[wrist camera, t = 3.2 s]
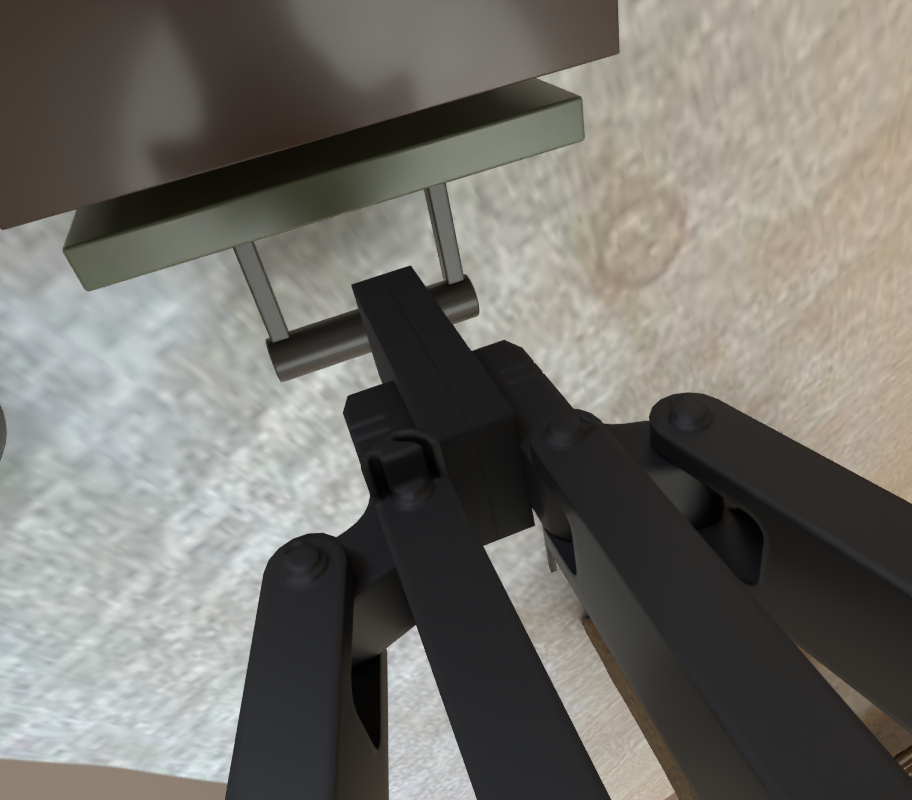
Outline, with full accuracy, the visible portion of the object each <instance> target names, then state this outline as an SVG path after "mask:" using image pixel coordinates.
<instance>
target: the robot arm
mask: <svg viewBox="0 0 912 800" xmlns="http://www.w3.org/2000/svg"><path fill="white" fill-rule="evenodd" d="M351 286H352V289H353V292H354V295H355V299H356V302H357V305H358V308H359V312H360V315H361V318H362V321H363V325H364V328H365V331H366V334H367V337H368V341H369V344H370V347H371V350H372V354H373V357H374V360H375V363H376V367H377V370H378V373H379V376H380V379H381V381H382V383H383V384H381V385H378V386H375V387H372V388H369V389H366V390H363V391H360V392H357V393H355V394H352V395H349V396H348V397H347V400H346V404H345V407H344V411H343V415H344V417H345V420H346V423H347V426H348V429H349V432H350V435H351V438H352V441H353V443H354V446H355V449H356V452H357V455H358V458H359V461H360V464H361V470H362V473H363V476H364V478H365V481H366V484H367V487H368V489H369V492H370V499H369V504H368V507H367V509H366V511H365V513H364V514H363V515H362V517H361V518H360V519H359V520H358V521H357V523H355V524H354V525H353V526H352V527H350V528H349V529H348V530H347V531H345V532H344V533H342V534H341V535H339V536H338V537H334V536H331V535H328V534H325V533H311V534H306V535H303V536H300V537H297V538H294V539H292V540H291V541H289V542H288V543H286V544H285V545H283V546H282V547H280V548H279V549H278V550H277V551H276V552H275V553H274V555H273V556H272V557H271V558H270V559H269V561H268V563H267V566H266V568H265V571H264V574H263V580H262V585H261V591H260V597H259V603H258V609H257V615H256V621H255V626H254V632H253V638H252V644H251V650H250V656H249V662H248V668H247V673H246V679H245V685H244V691H243V697H242V703H241V709H240V714H239V720H238V726H237V732H236V738H235V744H234V750H233V756H232V761H231V767H230V773H229V779H228V785H227V791H226V797H225V800H389V780H388V679H387V650H386V648H387V647H388V646H390V645H391V644H392V643H393V642H395V641H396V640H397V639H398V638H400V637H401V636H402V635H404V634H405V633H406V632H407V631H409V630H410V629H411V628H412V627H414V626H415V625H416V626H417V629H418V632H419V635H420V638H421V640H422V643H423V646H424V649H425V652H426V655H427V658H428V660H429V663H430V666H431V669H432V672H433V675H434V678H435V680H436V683H437V686H438V689H439V692H440V695H441V698H442V701H443V703H444V706H445V709H446V712H447V715H448V718H449V721H450V723H451V726H452V729H453V732H454V735H455V738H456V741H457V744H458V746H459V749H460V752H461V755H462V758H463V761H464V764H465V766H466V769H467V772H468V775H469V778H470V781H471V784H472V786H473V789H474V792H475V795H476V798H477V800H611V798H610V796H609V794H608V793H607V791H606V789H605V787H604V785H603V783H602V781H601V779H600V777H599V775H598V773H597V771H596V769H595V767H594V765H593V763H592V761H591V759H590V757H589V755H588V753H587V751H586V749H585V747H584V745H583V743H582V741H581V739H580V737H579V735H578V733H577V731H576V729H575V727H574V725H573V723H572V721H571V719H570V717H569V715H568V713H567V711H566V709H565V707H564V705H563V703H562V701H561V699H560V697H559V695H558V693H557V691H556V690H555V688H554V686H553V684H552V682H551V680H550V678H549V676H548V674H547V672H546V670H545V668H544V666H543V664H542V662H541V660H540V658H539V656H538V654H537V652H536V650H535V648H534V646H533V644H532V642H531V640H530V638H529V636H528V634H527V632H526V630H525V628H524V626H523V624H522V622H521V620H520V618H519V616H518V614H517V612H516V610H515V608H514V606H513V604H512V602H511V600H510V598H509V596H508V594H507V592H506V590H505V588H504V587H503V585H502V583H501V581H500V579H499V577H498V575H497V573H496V571H495V569H494V567H493V565H492V563H491V561H490V559H489V557H488V555H487V553H486V551H485V549H484V547H483V546H484V545H487V544H489V543H492V542H494V541H497V540H499V539H502V538H505V537H507V536H510V535H512V534H515V533H517V532H520V531H522V530H525V529H527V528H530V527H533V526H535V523H534V517H533V512H532V508H533V510H534V511H535V513H536V514H537V516H538V518H539V519H540V521H541V522H542V526H543V533H544V539H545V545H546V552H547V558H548V563H549V567H550V570H551V573H552V572H554V571H557V569H556V562H557V563H558V565H559V567H560V568H561V570H562V572H563V573H564V575H565V577H566V578H567V580H568V582H569V583H570V585H571V587H572V588H573V590H574V592H575V593H576V595H577V597H578V598H579V600H580V602H581V603H582V605H583V607H584V608H585V610H586V612H587V613H588V615H589V617H590V618H591V620H592V622H593V623H594V625H595V627H596V628H597V630H598V632H599V633H600V635H601V636H602V638H603V640H604V641H605V643H606V645H607V646H608V648H609V650H610V651H611V653H612V655H613V656H614V658H615V660H616V661H617V663H618V665H619V666H620V668H621V670H622V671H623V673H624V675H625V676H626V678H627V680H628V681H629V683H630V685H631V686H632V688H633V690H634V691H635V693H636V695H637V696H638V698H639V700H640V701H641V703H642V705H643V706H644V708H645V710H646V711H647V713H648V715H649V716H650V718H651V720H652V721H653V723H654V725H655V726H656V728H657V730H658V731H659V733H660V735H661V736H662V738H663V740H664V741H665V743H666V745H667V746H668V748H669V750H670V751H671V753H672V755H673V756H674V758H675V760H676V761H677V763H678V765H679V766H680V768H681V770H682V771H683V773H684V775H685V776H686V778H687V780H688V781H689V783H690V785H691V786H692V788H693V790H694V791H695V793H696V795H697V796H698V798H699V799H700V800H912V778H911V777H910V776H909V775H908V773H907V772H906V771H905V770H904V769H903V768H902V767H901V765H900V764H899V763H898V762H897V761H896V760H895V758H894V757H893V756H892V755H891V754H890V753H889V752H888V750H887V749H886V748H885V747H884V746H883V745H882V744H881V742H880V741H879V740H878V739H877V738H876V737H875V735H874V734H873V733H872V732H871V731H870V730H869V729H868V727H867V726H866V725H865V724H864V723H863V722H862V721H861V719H860V718H859V717H858V716H857V715H856V714H855V712H854V711H853V710H852V709H851V708H850V707H849V706H848V704H847V703H846V702H845V701H844V700H843V699H842V698H841V696H840V695H839V694H838V693H837V692H836V691H835V689H834V688H833V687H832V686H831V685H830V684H829V683H828V681H827V680H826V679H825V678H824V677H823V676H822V674H821V673H820V672H819V671H818V670H817V669H816V668H815V666H814V665H813V664H812V663H811V662H810V661H809V660H808V658H807V657H806V656H805V655H804V654H803V653H802V651H801V650H800V649H799V648H798V647H797V646H796V645H795V644H797V645H798V646H799V647H801V648H802V649H803V650H804V651H806V652H807V653H808V654H810V655H811V656H812V657H813V658H815V659H816V660H817V661H818V662H820V663H821V664H822V665H824V666H825V667H826V668H827V669H829V670H830V671H831V672H833V673H834V674H835V675H836V676H838V677H839V678H840V679H842V680H843V681H844V682H845V683H847V684H848V685H849V686H850V687H852V688H853V689H854V690H856V691H857V692H858V693H859V694H861V695H862V696H863V697H865V698H866V699H867V700H868V701H870V702H871V703H872V704H873V705H875V706H876V707H877V708H879V709H880V710H881V711H882V712H884V713H885V714H886V715H888V716H889V717H890V718H891V719H893V720H894V721H895V722H897V723H898V724H899V725H900V726H902V727H903V728H904V729H905V730H907V731H908V732H909V733H911V734H912V504H911V503H909V502H907V501H905V500H903V499H902V498H900V497H898V496H896V495H894V494H892V493H891V492H889V491H887V490H885V489H883V488H881V487H879V486H878V485H876V484H874V483H872V482H870V481H868V480H866V479H865V478H863V477H861V476H859V475H857V474H855V473H853V472H852V471H850V470H848V469H846V468H844V467H842V466H840V465H839V464H837V463H835V462H833V461H831V460H829V459H827V458H826V457H824V456H822V455H820V454H818V453H816V452H815V451H813V450H811V449H809V448H807V447H805V446H803V445H802V444H800V443H798V442H796V441H794V440H792V439H790V438H789V437H787V436H785V435H783V434H781V433H779V432H777V431H776V430H774V429H772V428H770V427H768V426H766V425H764V424H763V423H761V422H759V421H757V420H755V419H753V418H752V417H750V416H748V415H746V414H744V413H742V412H740V411H739V410H737V409H735V408H733V407H731V406H729V405H727V404H726V403H724V402H722V401H720V400H718V399H716V398H713V397H710V396H708V395H705V394H699V393H689V392H687V393H680V394H673V395H670V396H668V397H666V398H663V399H661V400H660V401H659V402H657V403H656V404H655V405H654V406H653V407H652V410H651V413H650V416H649V421H642V422H634V423H626V424H603V423H602V421H601V420H600V419H598V418H597V417H596V416H594V415H593V414H592V413H589V412H586V411H583V410H579V409H573V408H572V406H571V405H570V404H569V403H568V402H567V400H566V399H565V398H564V397H563V396H562V394H561V393H560V392H559V391H558V390H557V388H556V387H555V386H554V385H553V384H552V382H551V381H550V380H549V379H548V378H547V377H546V375H545V374H543V373H542V371H541V369H540V368H539V367H538V366H537V365H536V363H535V364H534V362H533V360H532V359H531V357H530V356H529V355H528V354H527V353H526V351H525V350H524V349H523V348H521V347H519V346H517V345H515V344H512V343H510V342H508V341H506V340H502V341H500V342H497V343H494V344H491V345H488V346H485V347H482V348H479V349H476V350H474V351H471V350H470V348H469V347H468V346H467V344H466V343H465V341H464V340H463V339H462V337H461V336H460V334H459V333H458V332H457V330H456V329H455V327H454V326H453V324H452V323H451V322H450V320H449V319H448V317H447V316H446V315H445V313H444V312H443V310H442V309H441V308H440V306H439V305H438V303H437V302H436V300H435V299H434V298H433V296H432V295H431V293H430V292H429V291H428V289H427V288H426V286H425V285H424V284H423V282H422V281H421V279H420V278H419V277H418V275H417V274H416V272H415V271H414V269H413V268H412V267H411V266H408V267H404V268H401V269H398V270H395V271H392V272H389V273H386V274H383V275H380V276H376V277H373V278H370V279H367V280H364V281H361V282H358V283H355V284H352V285H351ZM555 560H556V562H555Z"/></svg>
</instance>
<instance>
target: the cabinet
mask: <svg viewBox="0 0 912 800" xmlns="http://www.w3.org/2000/svg"><path fill="white" fill-rule="evenodd" d="M617 54H619V25H618V0H0V229H2V230H5V229H9V228H12V227H16V226H19V225H23V224H26V223H30V222H33V221H37V220H40V219H44V218H47V217H51V216H54V215H58V214H61V213H65V212H68V211H72V210H75V209H79V208H82V207H86V206H89V205H93V204H96V203H100V202H103V201H107V200H110V199H114V198H117V197H121V196H124V195H128V194H131V193H135V192H138V191H142V190H145V189H149V188H152V187H156V186H159V185H163V184H166V183H170V182H173V181H176V180H180V179H183V178H187V177H190V176H194V175H197V174H201V173H204V172H208V171H211V170H215V169H218V168H222V167H225V166H229V165H232V164H236V163H239V162H243V161H246V160H250V159H253V158H257V157H260V156H264V155H267V154H271V153H274V152H278V151H281V150H285V149H288V148H292V147H295V146H299V145H302V144H306V143H309V142H313V141H316V140H320V139H323V138H327V137H330V136H334V135H337V134H341V133H344V132H348V131H351V130H355V129H358V128H362V127H365V126H369V125H372V124H376V123H379V122H383V121H386V120H390V119H393V118H397V117H400V116H403V115H407V114H410V113H414V112H417V111H421V110H424V109H428V108H431V107H435V106H438V105H442V104H445V103H449V102H452V101H456V100H459V99H463V98H466V97H470V96H473V95H477V94H480V93H484V92H487V91H491V90H494V89H498V88H501V87H505V86H508V85H512V84H515V83H519V82H522V81H526V80H529V79H533V78H536V77H540V76H543V75H547V74H550V73H554V72H557V71H561V70H564V69H568V68H571V67H575V66H578V65H582V64H585V63H589V62H592V61H596V60H599V59H603V58H606V57H610V56H613V55H617Z"/></svg>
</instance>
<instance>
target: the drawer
mask: <svg viewBox="0 0 912 800" xmlns="http://www.w3.org/2000/svg"><path fill="white" fill-rule="evenodd" d="M584 138H585V135H584V120H583V106H582V98H581V96H579V95H576V94H574V93H571V92H569V91H566V90H564V89H561V88H559V87H557V86H554V85H552V84H549V83H547V82H544V81H542V80H539V79H537V78H533V79H529V80H526V81H522V82H519V83H515V84H512V85H508V86H505V87H501V88H498V89H494V90H491V91H487V92H484V93H480V94H477V95H473V96H470V97H466V98H463V99H459V100H456V101H452V102H449V103H445V104H442V105H438V106H435V107H431V108H428V109H424V110H421V111H417V112H414V113H410V114H407V115H403V116H400V117H397V118H393V119H390V120H386V121H383V122H379V123H376V124H372V125H369V126H365V127H362V128H358V129H355V130H351V131H348V132H344V133H341V134H337V135H334V136H330V137H327V138H323V139H320V140H316V141H313V142H309V143H306V144H302V145H299V146H295V147H292V148H288V149H285V150H281V151H278V152H274V153H271V154H267V155H264V156H260V157H257V158H253V159H250V160H246V161H243V162H239V163H236V164H232V165H229V166H225V167H222V168H218V169H215V170H211V171H208V172H204V173H201V174H197V175H194V176H190V177H187V178H183V179H180V180H176V181H173V182H170V183H166V184H163V185H159V186H156V187H152V188H149V189H145V190H142V191H138V192H135V193H131V194H128V195H124V196H121V197H117V198H114V199H110V200H107V201H103V202H100V203H96V204H93V205H89V206H86V207H82V208H79V209H77V210H76V213H75V215H74V218H73V221H72V224H71V227H70V229H69V232H68V235H67V238H66V241H65V243H64V246H63V253H64V255H65V256H66V258H67V260H68V261H69V263H70V265H71V267H72V268H73V270H74V272H75V274H76V275H77V277H78V279H79V281H80V282H81V284H82V286H83V288H84V289H85V290H86V291H92V290H96V289H99V288H102V287H105V286H109V285H112V284H115V283H119V282H122V281H125V280H128V279H132V278H135V277H138V276H141V275H145V274H148V273H151V272H155V271H158V270H161V269H164V268H168V267H171V266H174V265H178V264H181V263H184V262H187V261H191V260H194V259H197V258H200V257H204V256H207V255H210V254H214V253H217V252H220V251H223V250H227V249H230V248H233V249H234V252H235V254H236V257H237V259H238V261H239V264H240V266H241V269H242V271H243V274H244V276H245V278H246V281H247V283H248V286H249V288H250V291H251V293H252V295H253V298H254V300H255V303H256V305H257V308H258V310H259V312H260V315H261V317H262V320H263V322H264V325H265V327H266V330H267V332H268V334H269V337H270V338H267V339H266V346H267V349H268V352H269V355H270V358H271V361H272V364H273V366H274V369H275V371H276V374H277V376H278V378H279V380H280V381H281V382H284V381H287V380H290V379H293V378H296V377H299V376H302V375H305V374H308V373H311V372H314V371H317V370H320V369H323V368H326V367H329V366H332V365H335V364H338V363H340V362H343V361H346V360H349V359H352V358H355V357H358V356H361V355H364V354H367V353H370V352H372V350H371V347H370V344H369V341H368V337H367V334H366V331H365V328H364V325H363V321H362V318H361V315H360V312H359V309H356V310H353V311H350V312H347V313H344V314H340V315H337V316H334V317H331V318H328V319H325V320H322V321H319V322H316V323H313V324H310V325H307V326H304V327H301V328H298V329H295V330H292V331H288V328H287V326H286V323H285V320H284V318H283V315H282V313H281V310H280V308H279V305H278V302H277V300H276V297H275V295H274V292H273V290H272V287H271V284H270V282H269V279H268V277H267V274H266V272H265V269H264V266H263V264H262V261H261V259H260V256H259V253H258V251H257V248H256V246H255V243H254V241H256V240H259V239H263V238H266V237H269V236H273V235H276V234H279V233H282V232H286V231H289V230H292V229H296V228H299V227H302V226H305V225H309V224H312V223H315V222H318V221H322V220H325V219H328V218H332V217H335V216H338V215H341V214H345V213H348V212H351V211H355V210H358V209H361V208H364V207H368V206H371V205H374V204H377V203H381V202H384V201H387V200H391V199H394V198H397V197H400V196H404V195H407V194H410V193H414V192H417V191H420V190H423V189H424V192H425V196H426V201H427V206H428V210H429V215H430V220H431V224H432V229H433V234H434V238H435V243H436V247H437V252H438V257H439V261H440V266H441V271H442V275H443V279H444V281H441V282H438V283H435V284H432V285H429V286H426V288H427V289H428V291H429V292H430V293H431V295H432V296H433V298H434V299H435V300H436V302H437V303H438V305H439V306H440V308H441V309H442V310H443V312H444V313H445V315H446V316H447V317H448V319H449V320H450V322H451V323H452V324H455V323H458V322H461V321H464V320H467V319H470V318H473V317H476V316H478V315H479V303H478V299H477V295H476V292H475V289H474V287H473V285H472V282H471V281H470V279H469V277H468V276H467V275H466V274H463V270H462V265H461V260H460V254H459V249H458V244H457V239H456V234H455V229H454V224H453V219H452V214H451V208H450V203H449V198H448V193H447V188H446V182H450V181H453V180H456V179H459V178H463V177H466V176H469V175H473V174H476V173H479V172H482V171H486V170H489V169H492V168H495V167H499V166H502V165H505V164H509V163H512V162H515V161H518V160H522V159H525V158H528V157H532V156H535V155H538V154H541V153H545V152H548V151H551V150H554V149H558V148H561V147H564V146H568V145H571V144H574V143H577V142H581V141H583V140H584Z"/></svg>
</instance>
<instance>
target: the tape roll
mask: <svg viewBox="0 0 912 800" xmlns="http://www.w3.org/2000/svg"><path fill="white" fill-rule="evenodd" d="M6 435H7V434H6V423H5V419H4V415H3V412H2V410H1V407H0V460H1V457H2V454H3V451H4V447H5V443H6Z"/></svg>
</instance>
